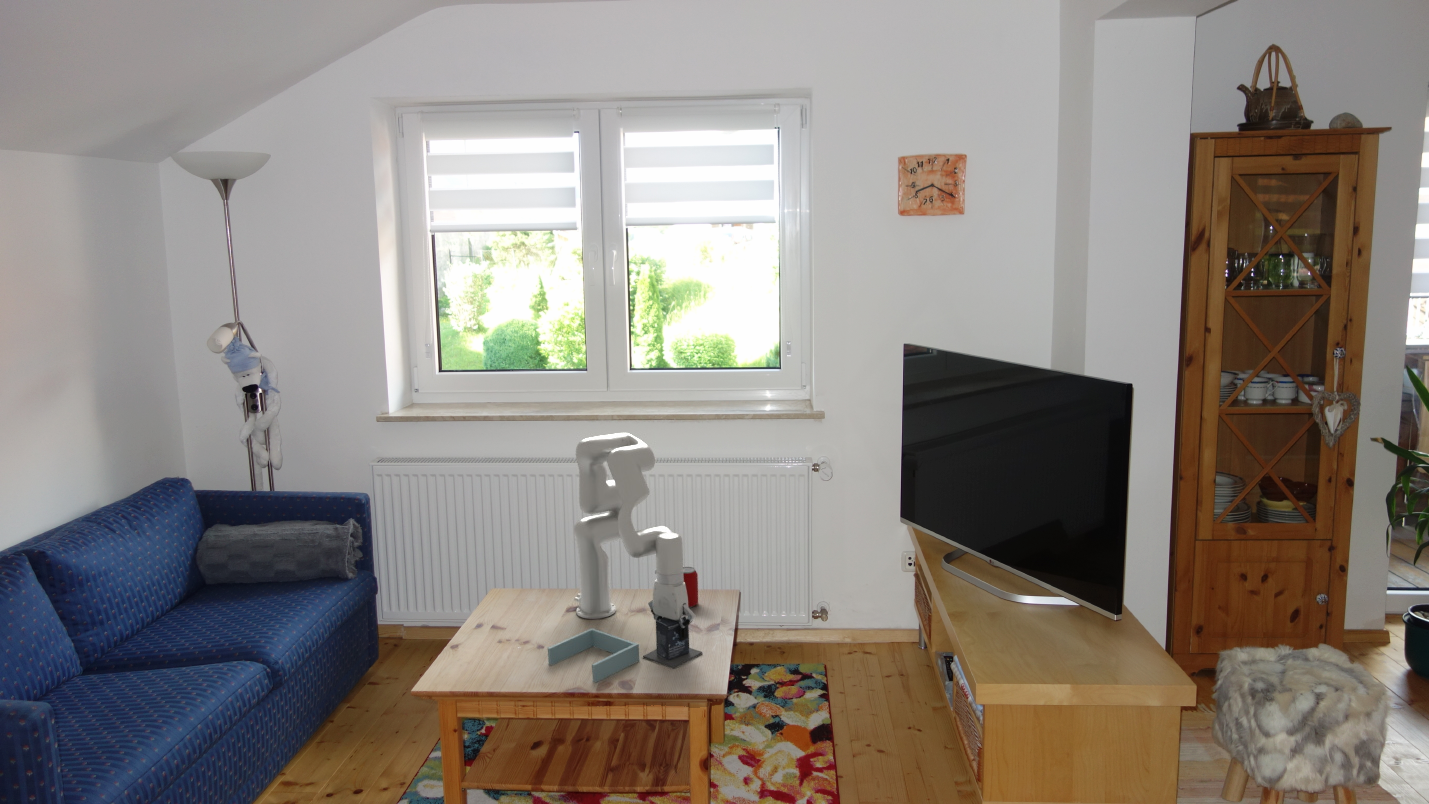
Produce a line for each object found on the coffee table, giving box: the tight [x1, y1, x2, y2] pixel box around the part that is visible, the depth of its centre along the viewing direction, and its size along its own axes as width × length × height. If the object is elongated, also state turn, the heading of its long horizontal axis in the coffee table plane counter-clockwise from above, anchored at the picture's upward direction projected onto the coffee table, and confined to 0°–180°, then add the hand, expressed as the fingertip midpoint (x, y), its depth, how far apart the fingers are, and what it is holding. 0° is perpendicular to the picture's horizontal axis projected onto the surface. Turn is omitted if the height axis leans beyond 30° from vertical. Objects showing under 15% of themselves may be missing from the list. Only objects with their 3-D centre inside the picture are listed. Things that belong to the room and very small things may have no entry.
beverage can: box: [683, 566, 699, 608], centre depth 304 cm, size 7×7×12 cm
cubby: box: [547, 627, 640, 683], centre depth 263 cm, size 19×17×5 cm
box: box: [655, 618, 690, 661], centre depth 265 cm, size 8×6×11 cm
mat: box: [642, 647, 703, 669], centre depth 266 cm, size 12×12×1 cm
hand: (672, 635), depth 266 cm, fingers open, 8 cm apart
